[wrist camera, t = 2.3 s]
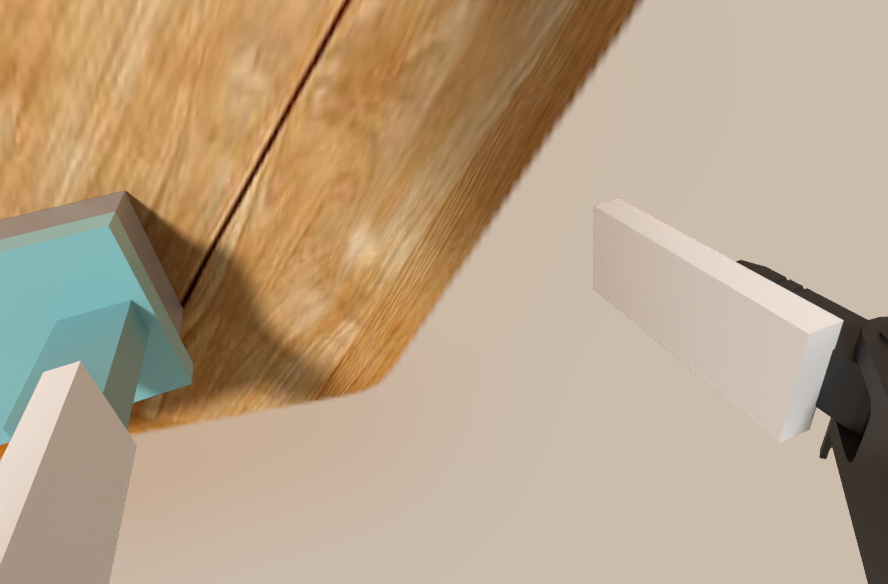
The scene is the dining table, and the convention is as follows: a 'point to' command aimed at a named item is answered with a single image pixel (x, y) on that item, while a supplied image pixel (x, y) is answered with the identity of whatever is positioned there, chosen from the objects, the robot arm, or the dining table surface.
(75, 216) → the tub
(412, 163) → the dining table surface
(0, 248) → the lid
